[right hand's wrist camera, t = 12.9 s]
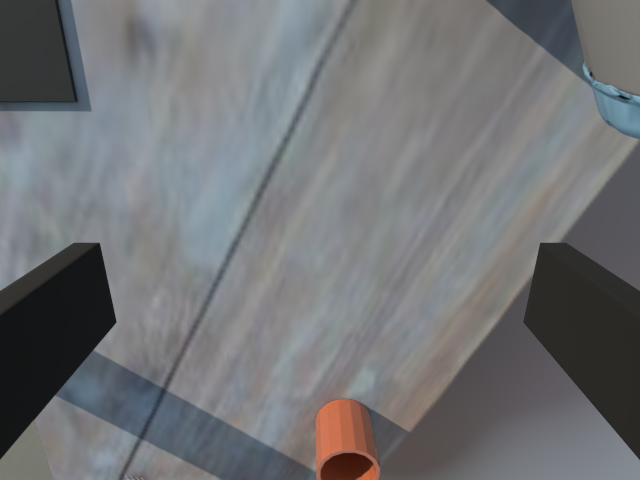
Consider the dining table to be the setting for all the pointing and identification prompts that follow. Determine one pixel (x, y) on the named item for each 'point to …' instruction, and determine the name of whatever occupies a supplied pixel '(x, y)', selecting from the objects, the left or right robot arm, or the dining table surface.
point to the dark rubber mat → (33, 53)
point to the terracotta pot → (345, 442)
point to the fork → (133, 478)
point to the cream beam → (26, 458)
